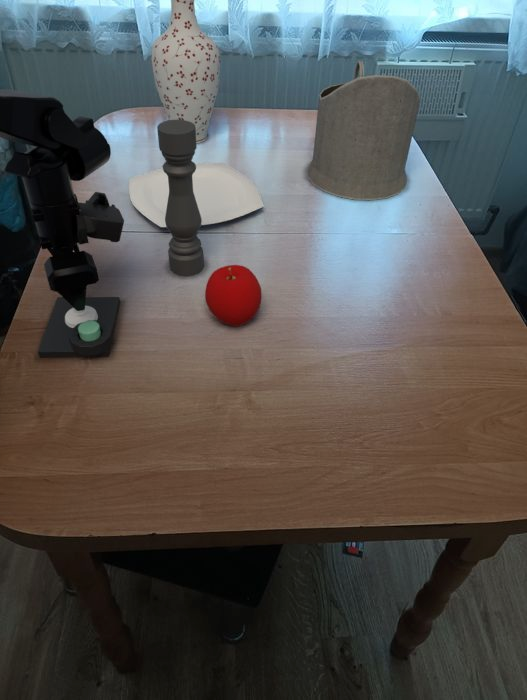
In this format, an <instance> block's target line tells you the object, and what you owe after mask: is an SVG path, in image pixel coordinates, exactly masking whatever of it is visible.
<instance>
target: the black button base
mask: <svg viewBox="0 0 527 700" xmlns="http://www.w3.org/2000/svg"><path fill="white" fill-rule="evenodd" d="M85 306H90V307H92V308H94V309H95V310H96V312H97V314H98V319H97V320H88V321H95V322H97V323H98V324H99V326H100V331H101V335H100V337H99V338H98V339H96V340H93V341H83V340H82V339H81V338H80V335H79V331H78V327H79V325H80V324H81V323H79V324H77V325H76V326H75V327H74V328H71V327H69V326H68V325H67V324H66V323H65V315H66V313H67V312H68V311H69V310H70V309H72V308H73V306H72V305H71V304H69V303H68V302H67V301H66V300H65V299H64V298H63V297H62V296H56V300H55V302H54V306H53V308H52V311H51V314H50V317H49V319H48V322H47V325H46V327H45V330H44V332H43V333H44V334H43V336H42V339H41V342H40V344H39V348H38V350H37V354H38V357H39V358H41V359H43V358H108V357H110V352H111V347H112V345H113V340H114V335H115V334H114V333H115V329H116V324H117V320H118V315H119V311H120V306H121V297H120V296H86V301H85ZM82 323H83V322H82Z"/></svg>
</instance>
